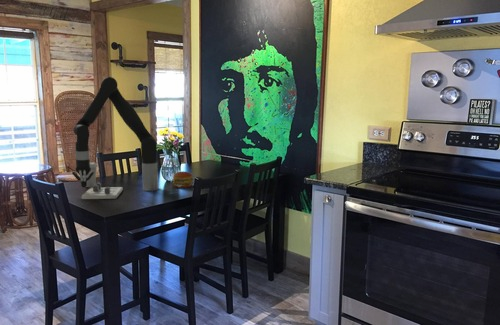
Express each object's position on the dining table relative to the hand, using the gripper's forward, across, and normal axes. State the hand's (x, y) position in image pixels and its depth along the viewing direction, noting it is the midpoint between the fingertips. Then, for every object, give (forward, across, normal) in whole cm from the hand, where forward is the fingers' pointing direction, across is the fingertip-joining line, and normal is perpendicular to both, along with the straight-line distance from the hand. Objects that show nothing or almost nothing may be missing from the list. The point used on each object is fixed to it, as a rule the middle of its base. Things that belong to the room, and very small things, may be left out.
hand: (84, 187), depth 247 cm
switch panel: (+5, -11, 0) cm, 12 cm away
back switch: (+2, -7, -6) cm, 9 cm away
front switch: (+2, -15, +6) cm, 16 cm away
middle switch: (+2, -7, 0) cm, 7 cm away
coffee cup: (+5, +3, -23) cm, 23 cm away
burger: (+4, -57, -17) cm, 60 cm away
